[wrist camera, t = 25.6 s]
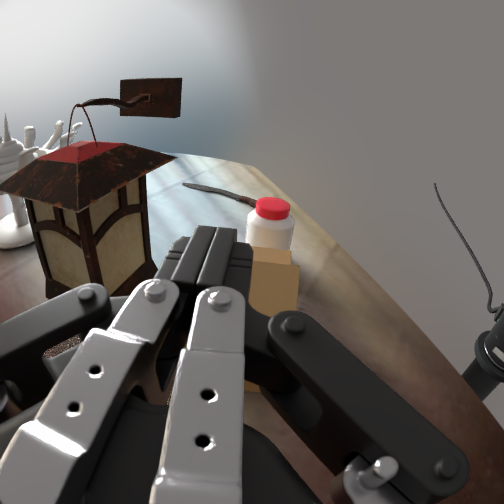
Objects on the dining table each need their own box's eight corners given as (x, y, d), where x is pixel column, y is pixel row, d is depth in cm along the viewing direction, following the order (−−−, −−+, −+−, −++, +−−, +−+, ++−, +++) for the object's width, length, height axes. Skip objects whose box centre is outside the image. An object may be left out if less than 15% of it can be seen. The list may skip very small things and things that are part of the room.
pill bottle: (283, 277, 52) (294, 218, 46) (238, 267, 53) (243, 208, 47) (289, 253, 58) (299, 199, 52) (249, 245, 59) (255, 191, 53)
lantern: (199, 251, 56) (206, 78, 40) (114, 352, 35) (67, 93, 19) (120, 229, 60) (112, 80, 44) (29, 303, 39) (-18, 109, 23)
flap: (294, 338, 28) (295, 337, 27) (168, 322, 28) (167, 321, 28) (299, 267, 31) (299, 265, 31) (183, 253, 31) (182, 251, 31)
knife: (179, 181, 82) (193, 177, 86) (179, 185, 83) (193, 181, 86) (262, 213, 69) (274, 206, 72) (261, 217, 69) (274, 210, 73)
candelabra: (-7, 300, 38) (-54, 142, 23) (-48, 241, 49) (-72, 138, 34) (121, 217, 64) (115, 93, 49) (46, 189, 75) (37, 99, 60)
